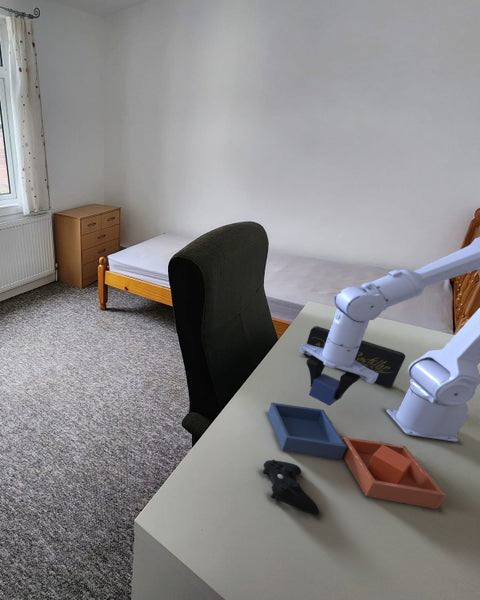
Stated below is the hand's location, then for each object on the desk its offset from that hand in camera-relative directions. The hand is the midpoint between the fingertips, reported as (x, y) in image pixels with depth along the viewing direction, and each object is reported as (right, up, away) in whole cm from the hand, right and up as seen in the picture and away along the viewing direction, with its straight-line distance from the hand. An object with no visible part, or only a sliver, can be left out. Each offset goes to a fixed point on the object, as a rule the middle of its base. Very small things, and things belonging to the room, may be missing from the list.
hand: (325, 391), depth 79 cm
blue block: (0, -1, +1) cm, 1 cm away
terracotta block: (+1, -12, -14) cm, 19 cm away
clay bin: (+1, -13, -14) cm, 19 cm away
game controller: (-19, -14, -16) cm, 28 cm away
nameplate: (+19, +1, +18) cm, 26 cm away
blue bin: (-8, -8, -4) cm, 13 cm away
